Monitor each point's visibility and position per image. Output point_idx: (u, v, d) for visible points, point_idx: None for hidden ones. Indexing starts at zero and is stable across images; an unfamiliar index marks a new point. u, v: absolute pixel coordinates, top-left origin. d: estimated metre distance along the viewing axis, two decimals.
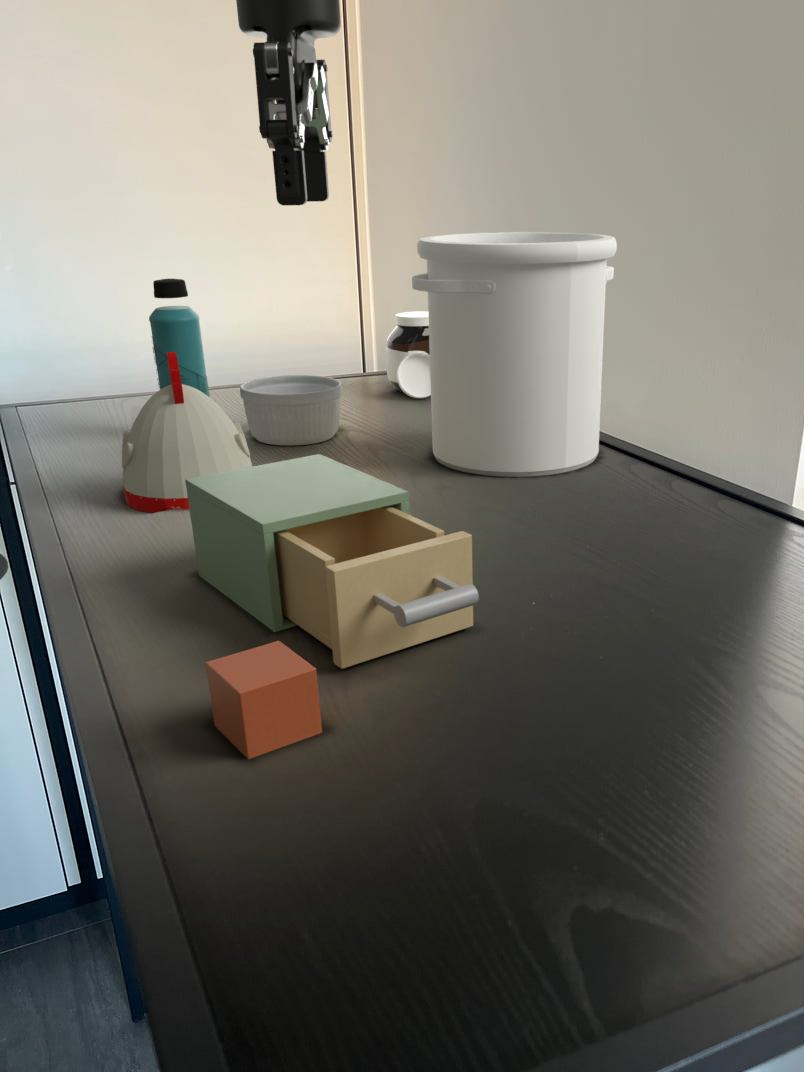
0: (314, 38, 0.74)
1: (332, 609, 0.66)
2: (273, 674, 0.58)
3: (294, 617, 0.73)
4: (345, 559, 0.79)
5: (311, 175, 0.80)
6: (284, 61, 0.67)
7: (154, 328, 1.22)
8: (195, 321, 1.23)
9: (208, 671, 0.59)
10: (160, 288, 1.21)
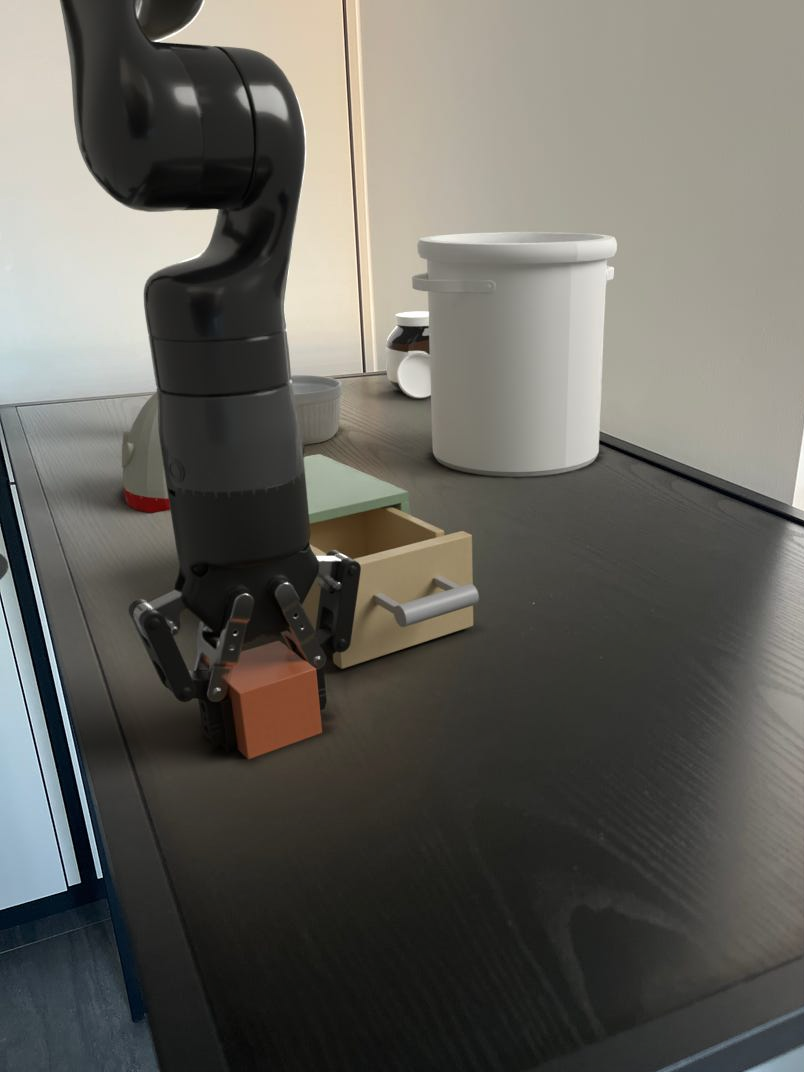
0: None
1: None
2: (273, 674, 0.58)
3: None
4: None
5: None
6: (147, 636, 0.53)
7: None
8: None
9: None
10: None
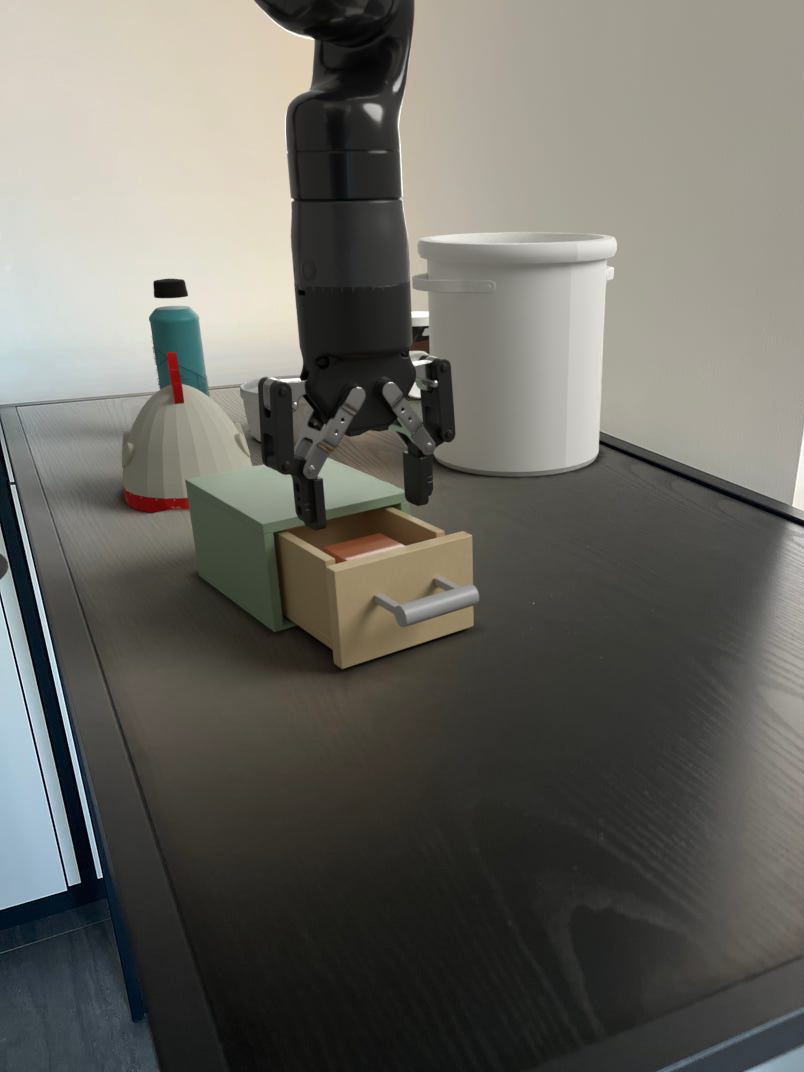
0: None
1: (332, 609, 0.66)
2: None
3: (295, 617, 0.73)
4: None
5: (410, 478, 0.71)
6: (272, 402, 0.62)
7: (154, 328, 1.22)
8: (195, 321, 1.23)
9: None
10: (160, 288, 1.21)
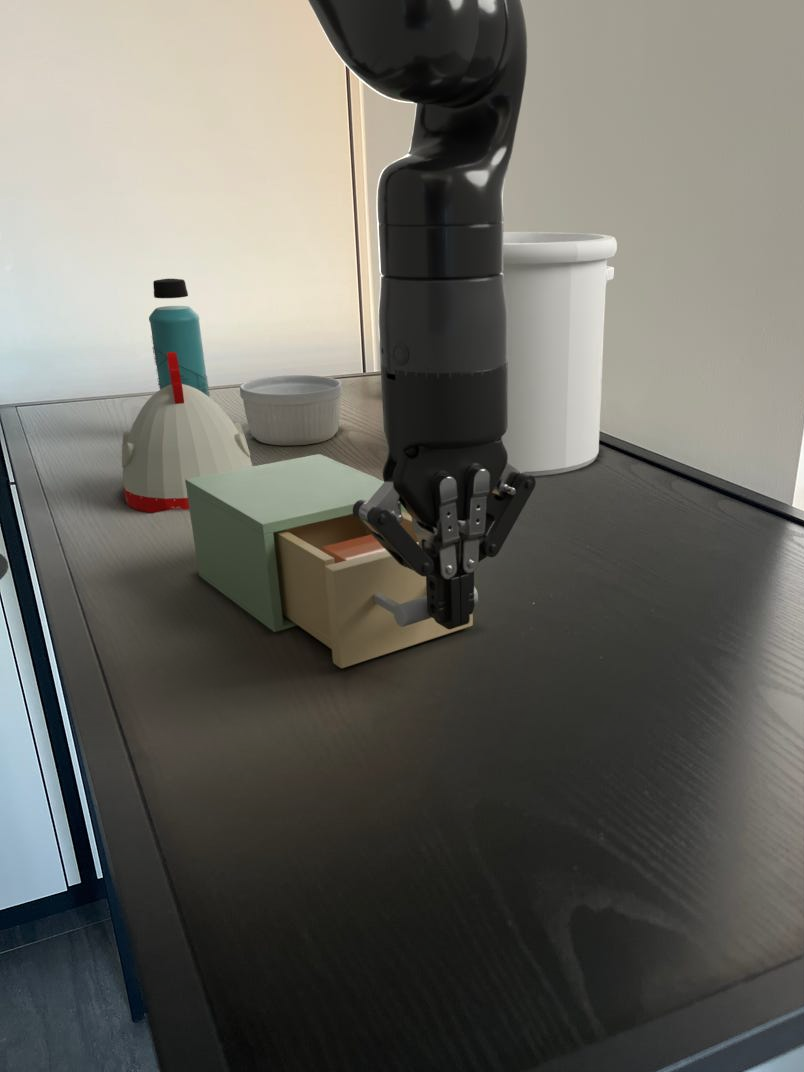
0: None
1: (332, 609, 0.66)
2: None
3: (294, 617, 0.73)
4: None
5: None
6: (379, 532, 0.57)
7: (154, 328, 1.22)
8: (195, 321, 1.23)
9: None
10: (160, 288, 1.21)
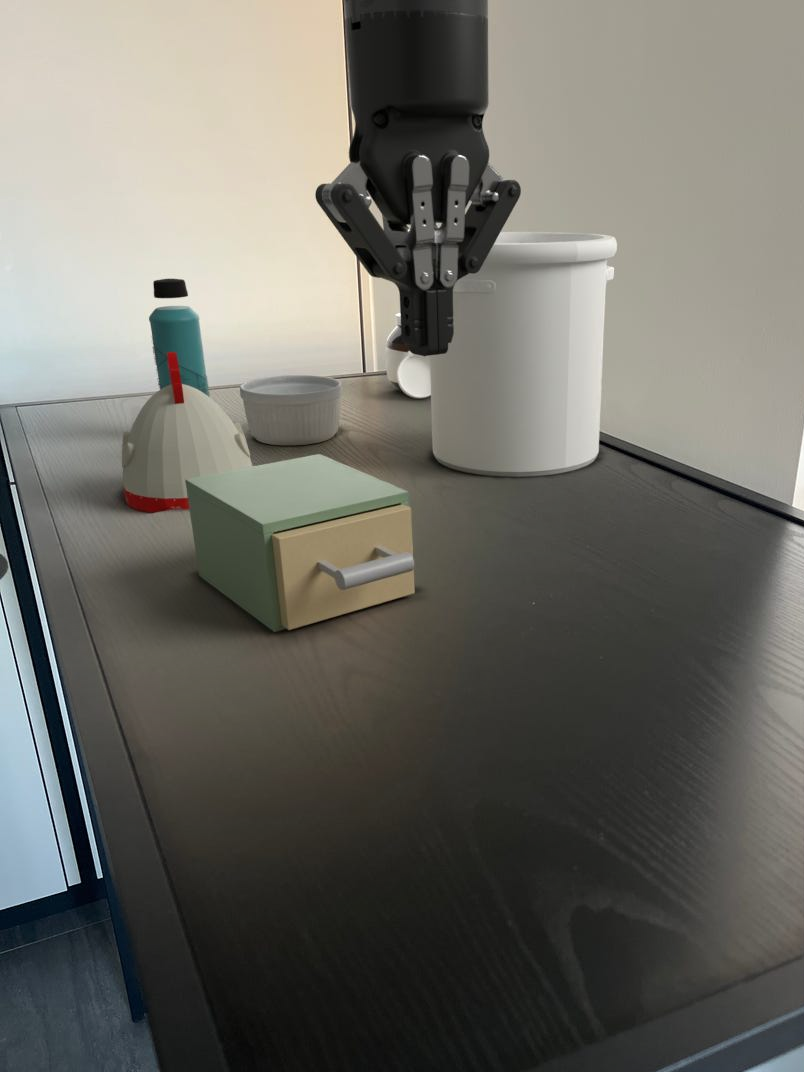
0: (460, 117, 0.53)
1: (279, 574, 0.71)
2: None
3: None
4: None
5: None
6: (344, 214, 0.51)
7: (154, 328, 1.22)
8: (195, 321, 1.23)
9: None
10: (160, 288, 1.21)
